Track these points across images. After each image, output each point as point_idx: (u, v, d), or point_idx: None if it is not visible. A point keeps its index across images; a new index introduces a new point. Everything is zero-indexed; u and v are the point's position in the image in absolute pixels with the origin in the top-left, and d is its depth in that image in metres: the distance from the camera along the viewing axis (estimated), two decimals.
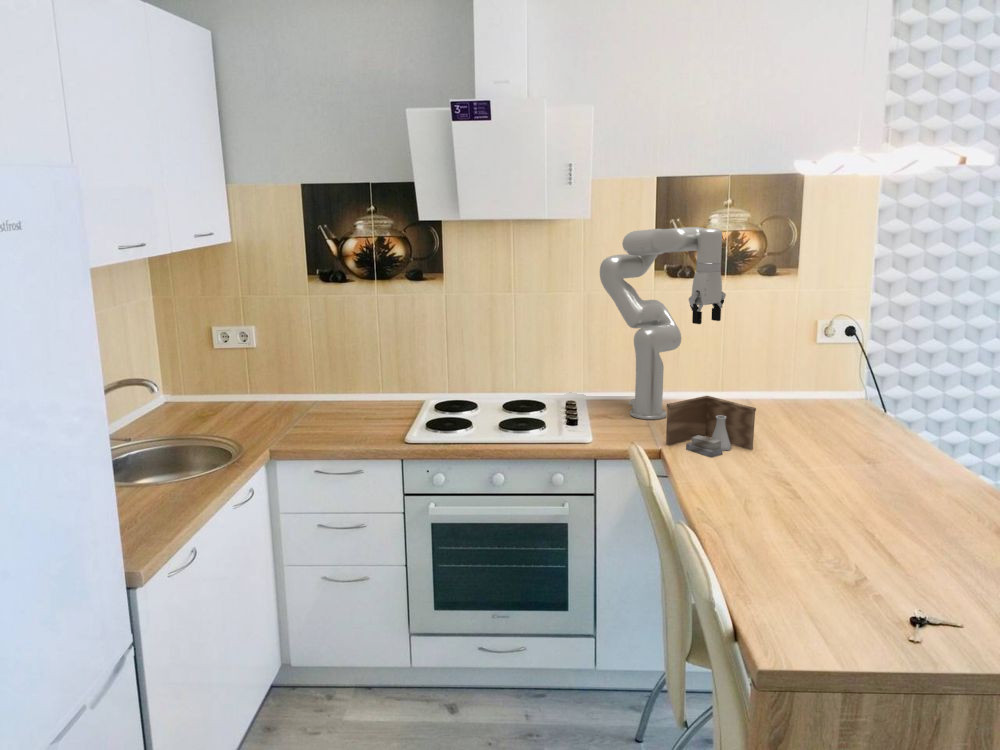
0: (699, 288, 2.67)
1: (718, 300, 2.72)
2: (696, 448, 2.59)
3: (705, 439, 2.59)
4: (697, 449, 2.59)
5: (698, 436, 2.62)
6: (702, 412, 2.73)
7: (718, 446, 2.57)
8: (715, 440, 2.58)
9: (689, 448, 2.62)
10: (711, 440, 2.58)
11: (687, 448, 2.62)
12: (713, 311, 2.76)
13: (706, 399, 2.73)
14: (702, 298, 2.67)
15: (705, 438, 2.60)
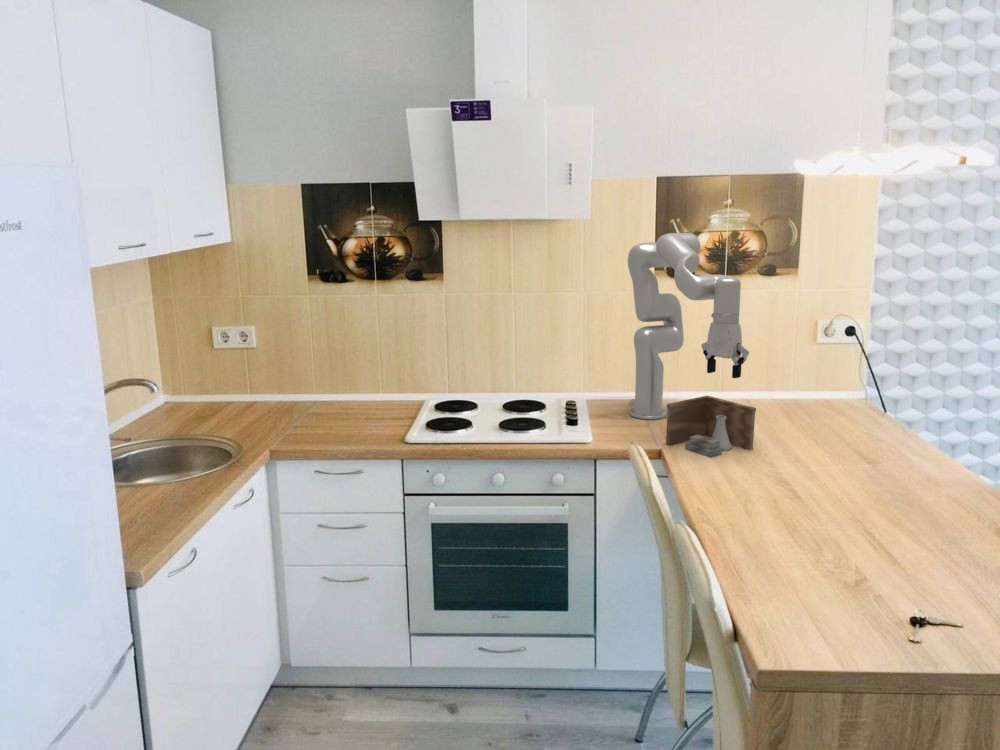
0: (739, 340, 2.53)
1: None
2: (695, 448, 2.59)
3: (704, 438, 2.59)
4: (696, 448, 2.59)
5: (697, 435, 2.62)
6: (702, 412, 2.73)
7: (716, 446, 2.57)
8: (713, 440, 2.58)
9: (688, 448, 2.62)
10: (710, 439, 2.58)
11: (686, 448, 2.62)
12: (710, 363, 2.62)
13: (706, 399, 2.73)
14: None
15: (704, 437, 2.60)
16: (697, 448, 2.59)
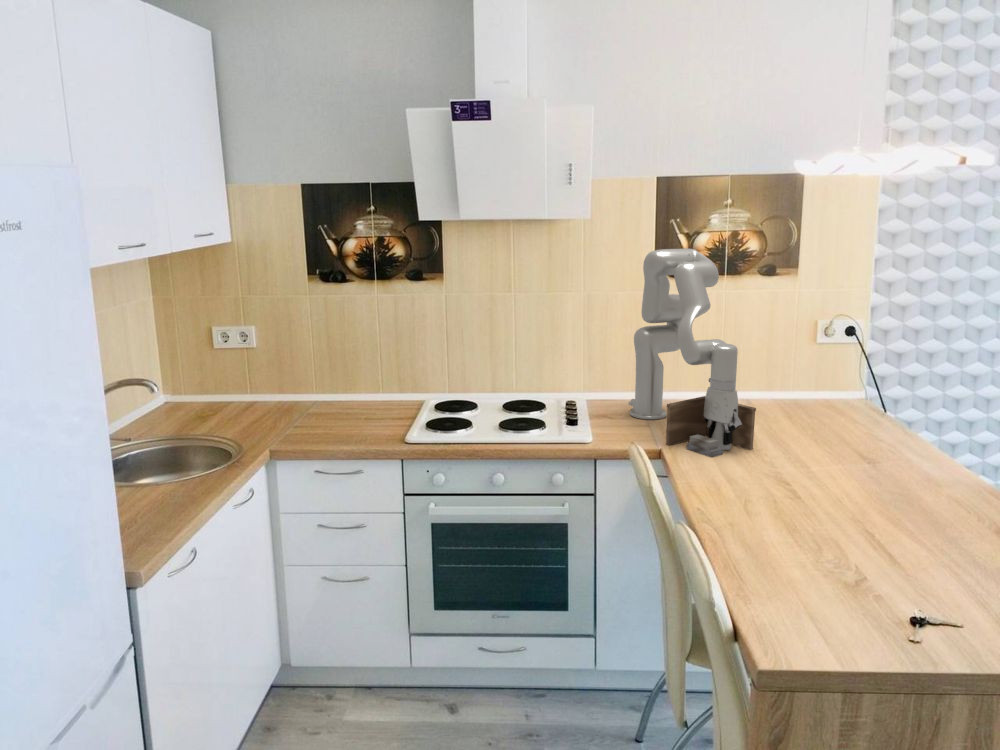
0: (736, 406, 2.58)
1: None
2: (697, 448, 2.59)
3: (702, 438, 2.59)
4: (697, 448, 2.59)
5: (697, 435, 2.62)
6: None
7: (715, 446, 2.57)
8: (712, 440, 2.58)
9: (690, 448, 2.62)
10: (709, 439, 2.58)
11: (688, 448, 2.62)
12: (712, 431, 2.65)
13: None
14: None
15: (703, 437, 2.60)
16: (698, 448, 2.59)
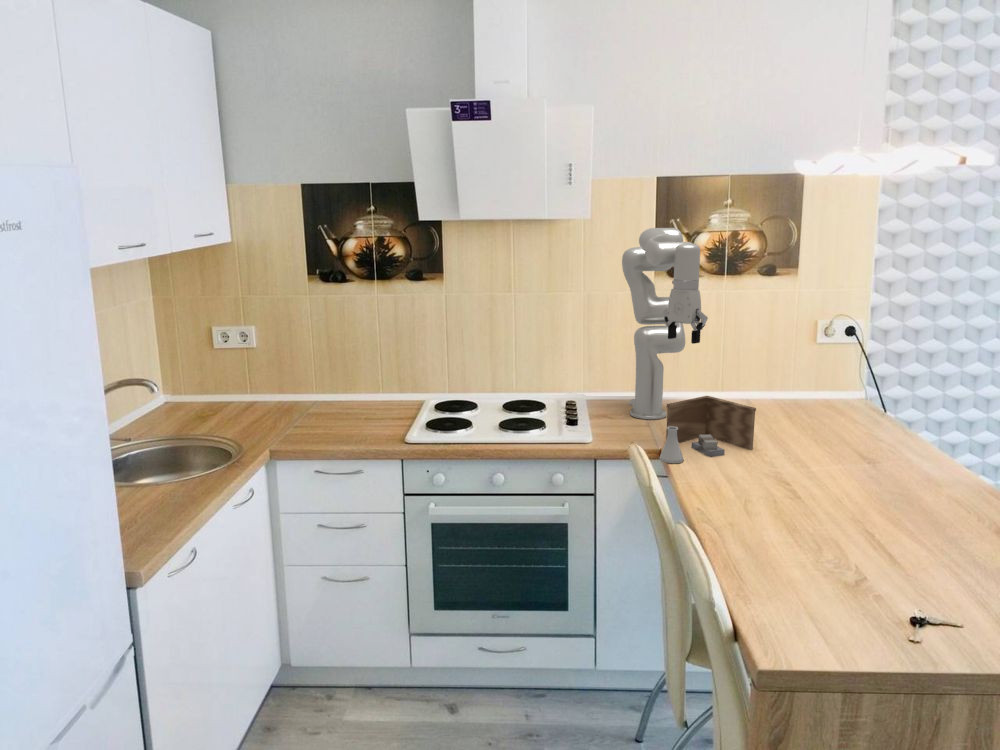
0: (698, 306, 2.58)
1: None
2: (699, 447, 2.60)
3: (706, 438, 2.60)
4: (699, 448, 2.60)
5: (707, 435, 2.63)
6: (702, 412, 2.73)
7: (712, 447, 2.56)
8: (712, 440, 2.57)
9: (694, 447, 2.63)
10: (710, 440, 2.58)
11: (692, 446, 2.64)
12: (671, 329, 2.66)
13: (706, 399, 2.73)
14: None
15: (708, 437, 2.60)
16: (700, 447, 2.60)
